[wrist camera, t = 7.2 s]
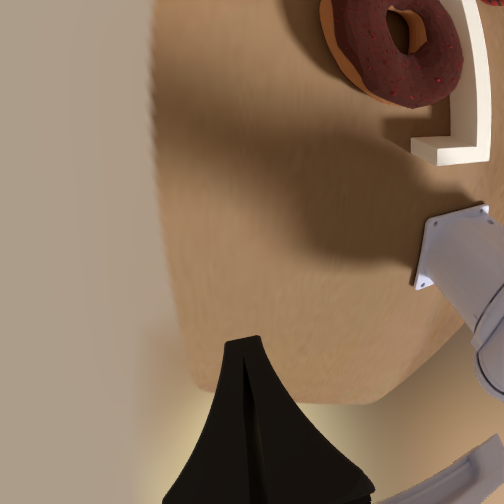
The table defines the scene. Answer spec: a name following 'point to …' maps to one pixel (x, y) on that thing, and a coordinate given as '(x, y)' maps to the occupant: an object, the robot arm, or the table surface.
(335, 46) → the donut
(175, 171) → the table surface
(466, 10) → the stop
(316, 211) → the table surface
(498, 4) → the deodorant
